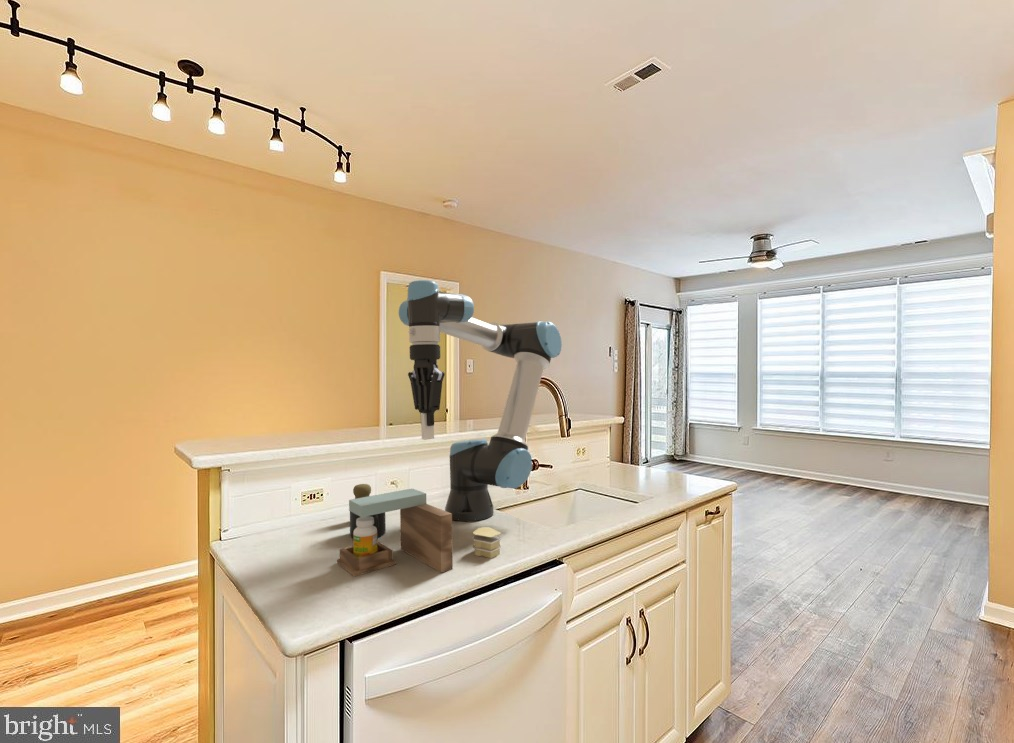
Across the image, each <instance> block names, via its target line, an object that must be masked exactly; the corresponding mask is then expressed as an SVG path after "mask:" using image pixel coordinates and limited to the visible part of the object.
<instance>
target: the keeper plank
mask: <svg viewBox="0 0 1014 743" xmlns="http://www.w3.org/2000/svg"><path fill="white" fill-rule="evenodd" d="M423 504H427V493H426V492H423V491H420V490H418V489H415V488H407V489H402V490H396V491H391V492H385V493H380V494H374V495H369V496H368V497H362V498H357V499H355V498H353V499H348V511H349V512H350V511H351V512H353V513H354V514H356V515H358V516H360V517H366V516H370V515H375V514H380V513H385V514H386V513H388V512H389V513H390V512H395V511H398V510H399V511H400V509H404V508H408V507H413V506H418V505H423Z"/></svg>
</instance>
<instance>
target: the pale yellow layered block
mask: <svg viewBox="0 0 1014 743" xmlns="http://www.w3.org/2000/svg"><path fill="white" fill-rule="evenodd" d="M472 534H473V535H475V536H473V537H472V540H473V541H474V544H473V545H472V548H473V549H474V556H479V557H480V556H482V557H485V558H489V559H492V558H494V557H497V556H499V555H501V554H500V553H501V552H500V549H502V546H501V545H500V541H501V540H502V537H500V536H498V535H500V534H501V532H500V531H498V530H497V529H494V528H492V527H489V526H485V527H484V526H483V527H478V528H477V529H475V530H474V531H473V532H472Z"/></svg>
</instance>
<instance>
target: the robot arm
mask: <svg viewBox="0 0 1014 743" xmlns="http://www.w3.org/2000/svg"><path fill="white" fill-rule="evenodd" d="M398 308H399V309H398V317H399V319H400V321H401V323H402V324H403V325H405V326H407V327H408V337H409V339H408V340H409V343H410V344H412V345H410V346H409V359H410V360H411V361H414V363H413V370H412V371H409V372H408V373H407V376H408V378H409V381H410V387H411V392H412V398H413V405H414V409H415V410H417V411H418V412H419V413H420V425H421V430H420V432H421V440H424V441H426V440H433V439H435V412H436V411H439V410H440V406H441V399H442V389H443V382H444V379H445V375H446V373H445V372H444V371H441V370H439V364H438V360H440V359H441V346H440V344H439V343H440V342H441V334H443V335H448V336H450V337H454V338H456V339H460V340H462V341H466V342H468V343H473V344H475V345H478V346H481V348H482V349H484V350H485V351H487V352H490V353H493V354H496V355H500V356H502V357H506V358H511V359H514V360H515V362H516V367H515V369H514V373H513V376H512V380H511V382H510V383H511V384H510V387H509V391H508V395H507V398H506V400H505V402H506V403H505V406H504V410H503V412H502V416H501V418H500V423H499V427H498V429H497V433H495V434H493V435H492V436H491V437H490V441H489V444H488V440H487V439H485V438H478V439H470V440H462V441H455V442H454V443H452V444H451V445H450V448H449V449H450V450H449V480H450V484H449V486H450V487H449V488H450V490H449V494H448V498H447V502H446V504H445V507H444V511H446V512H449V513H451V514H452V521H457V522H459V521H460V522H474V521H481V520H485V519H488V518H491V517H492V516H493V515H494V513H495V512H494V505H493V502H492V498H491V495H490V492H489V489H488V486H493V487H500V488H502V489H517V488H519V487H521V486H522V485H524V483H525V482H526V481H527V480H528V479H529V476H530V475H531V471H532V468H533V461H532V460H533V459H532V454H531V453H530V451H529V445H528V443H527V442H526V438H527V434H528V431H529V426H530V423H531V418H532V414H533V411H534V406H535V403H536V398H537V395H538V390H539V387H540V383H541V380H542V376H543V372H544V370H546V369H547V368H549V366H550V363H551V360H552V359H554V358H557V357H558V356H559V355H560V354H561V351H562V346H563V344H562V337H561V333H560V331H559V329H558V327H557V326H556V325H555V324H554V323H553V322H552V321H541V320H539V321H537V322H536V321H535V322H521V323H512V324H511V323H509V324H500V323H498V322H495V321H494V322H489V323H488V322H486V321H483V320H480V319H478V318H476V317H473V315H474V314H475V312H474V311H475V303H474V301H473V299H472V298H471V297H470V296H468V295H465V294H462V293H459V292H458V293H455V292H444V291H440V289H439V284H438V282H436V281H435V280H429V279H428V280H427V279H422V280H421V279H420V280H414V281H411V282H409V283H408V285H407V299H406V300H404V301H403V302H401V304H400V306H399V307H398Z"/></svg>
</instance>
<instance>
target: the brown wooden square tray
mask: <svg viewBox="0 0 1014 743" xmlns="http://www.w3.org/2000/svg"><path fill="white" fill-rule="evenodd" d="M393 558H394V556H393V549H391V548H390V547H388V546H386V545H384V544H382V543H381V542H380V541H378V540H377V553H373V554H370V555H366V556H362V557H358V558H357V557H356V556H354V555H353V545H350V546H346V547H342V548H339V558H337V559H336V563H337V565H339V566H340V567H341V568H343V570H345V571H346V572H348V573H349V574H350V575H351V576H352V577H356V576H360V575H363V574H367V573H370V572H374V571H378V570H380V569H385V568H388V567H390V566H392V567H393V566H395V565H396V562H397V561H396V560H395V559H393Z"/></svg>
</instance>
